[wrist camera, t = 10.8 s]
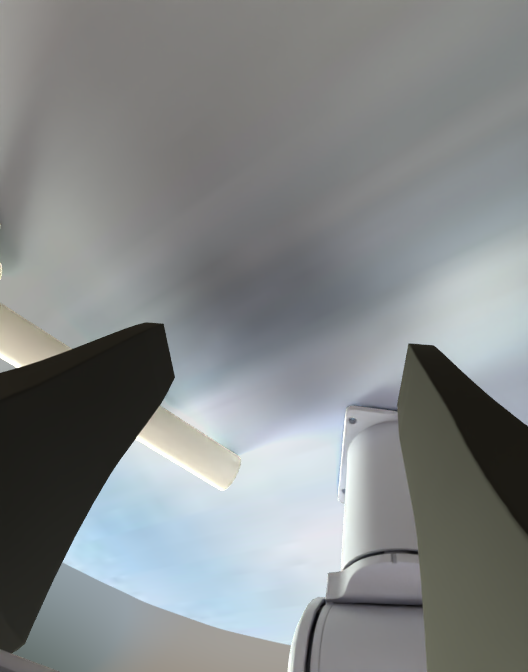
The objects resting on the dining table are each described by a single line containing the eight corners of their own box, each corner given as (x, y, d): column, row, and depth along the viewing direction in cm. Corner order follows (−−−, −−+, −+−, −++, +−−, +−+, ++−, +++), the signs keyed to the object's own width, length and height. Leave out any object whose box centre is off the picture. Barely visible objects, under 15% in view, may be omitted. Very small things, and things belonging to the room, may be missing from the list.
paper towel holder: (-372, 123, 14) (255, 505, 21) (-127, 120, 21) (274, 405, 28) (-314, 282, 18) (181, 547, 26) (-132, 234, 25) (213, 452, 33)
